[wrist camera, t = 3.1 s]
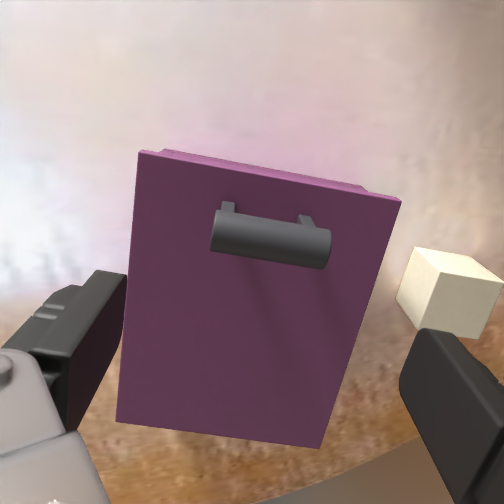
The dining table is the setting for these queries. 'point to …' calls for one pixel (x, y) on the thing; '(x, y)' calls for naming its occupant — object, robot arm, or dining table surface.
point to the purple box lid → (244, 298)
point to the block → (448, 292)
